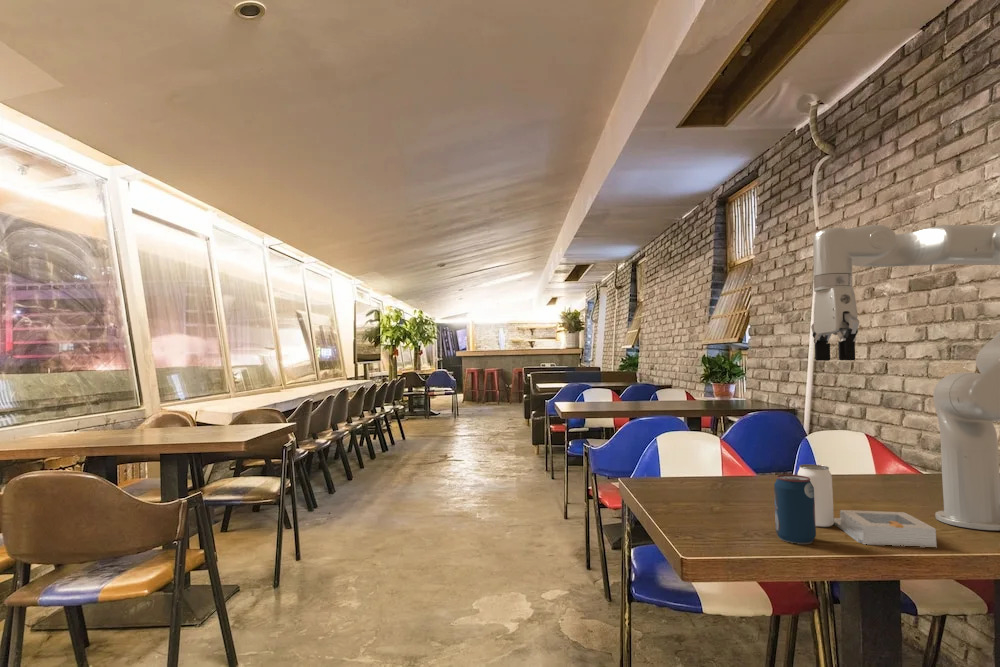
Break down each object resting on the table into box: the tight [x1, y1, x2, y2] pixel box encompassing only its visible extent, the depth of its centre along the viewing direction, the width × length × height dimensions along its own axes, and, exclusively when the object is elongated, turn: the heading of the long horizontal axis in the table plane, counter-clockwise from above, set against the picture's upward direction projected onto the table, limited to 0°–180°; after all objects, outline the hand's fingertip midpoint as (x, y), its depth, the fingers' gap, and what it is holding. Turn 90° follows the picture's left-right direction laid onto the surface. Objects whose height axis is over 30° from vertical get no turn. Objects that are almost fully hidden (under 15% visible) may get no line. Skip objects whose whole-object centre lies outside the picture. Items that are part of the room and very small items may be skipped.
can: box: [797, 463, 835, 528], centre depth 123 cm, size 6×6×12 cm
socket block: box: [833, 509, 938, 549], centre depth 115 cm, size 13×17×4 cm
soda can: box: [773, 474, 817, 545], centre depth 111 cm, size 7×7×12 cm
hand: (834, 360), depth 128 cm, fingers open, 9 cm apart
